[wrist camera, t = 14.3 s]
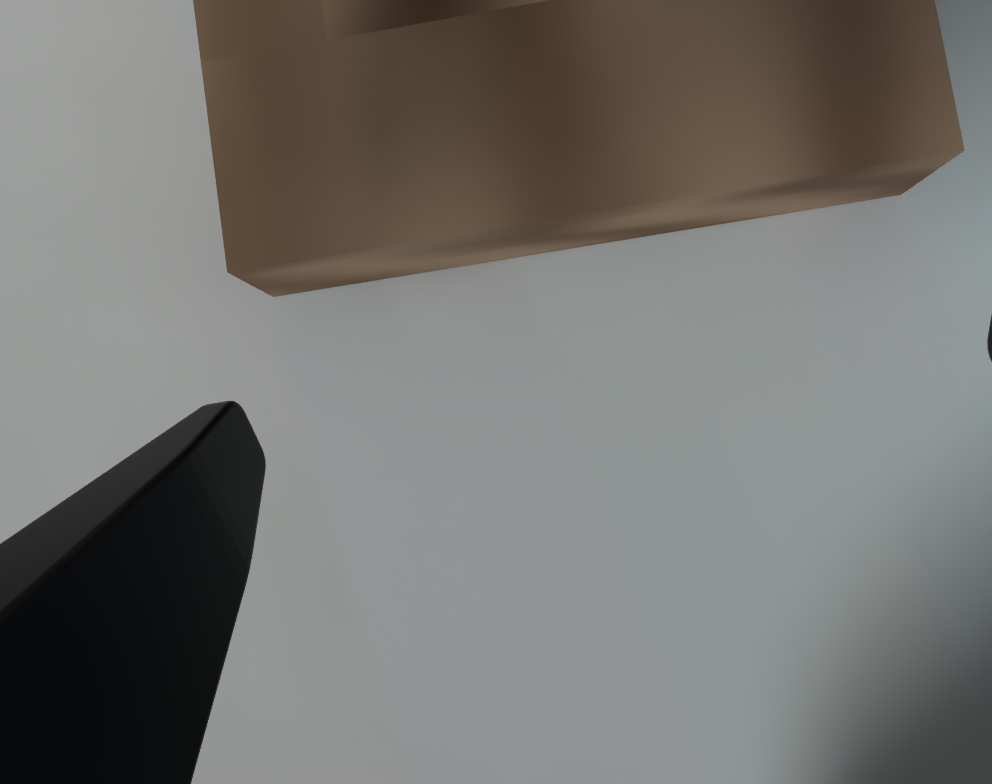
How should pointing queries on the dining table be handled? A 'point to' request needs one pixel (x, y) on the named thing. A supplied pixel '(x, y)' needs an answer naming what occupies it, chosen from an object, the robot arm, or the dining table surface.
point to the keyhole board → (550, 123)
